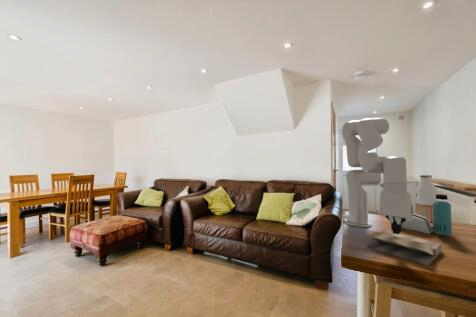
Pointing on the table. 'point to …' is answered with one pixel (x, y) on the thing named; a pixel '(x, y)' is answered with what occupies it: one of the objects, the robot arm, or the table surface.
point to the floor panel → (407, 249)
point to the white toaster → (417, 224)
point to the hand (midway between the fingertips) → (396, 233)
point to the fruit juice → (426, 198)
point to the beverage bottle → (442, 216)
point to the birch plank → (402, 242)
